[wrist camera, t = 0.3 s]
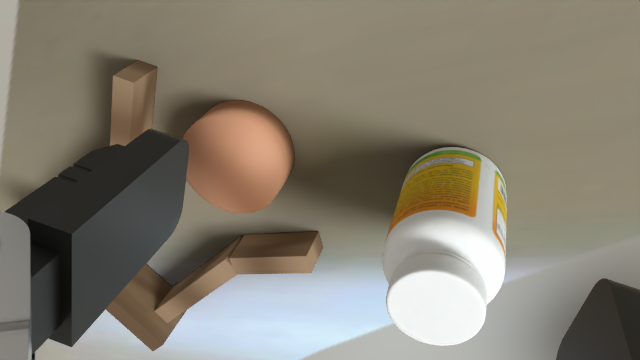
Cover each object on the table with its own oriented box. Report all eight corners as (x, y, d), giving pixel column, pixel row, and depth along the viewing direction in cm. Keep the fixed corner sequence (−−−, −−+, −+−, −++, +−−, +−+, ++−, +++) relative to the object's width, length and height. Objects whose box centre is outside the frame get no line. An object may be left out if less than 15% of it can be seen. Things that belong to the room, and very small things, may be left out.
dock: (143, 53, 33) (102, 78, 29) (329, 243, 36) (311, 285, 32) (37, 179, 40) (-6, 210, 37) (199, 328, 43) (173, 369, 40)
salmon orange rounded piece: (242, 77, 32) (223, 94, 30) (316, 156, 33) (303, 177, 31) (180, 137, 35) (160, 156, 33) (250, 207, 36) (235, 230, 34)
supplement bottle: (384, 189, 33) (342, 304, 25) (449, 124, 30) (426, 231, 22) (458, 247, 33) (440, 378, 25) (529, 188, 30) (535, 316, 22)
